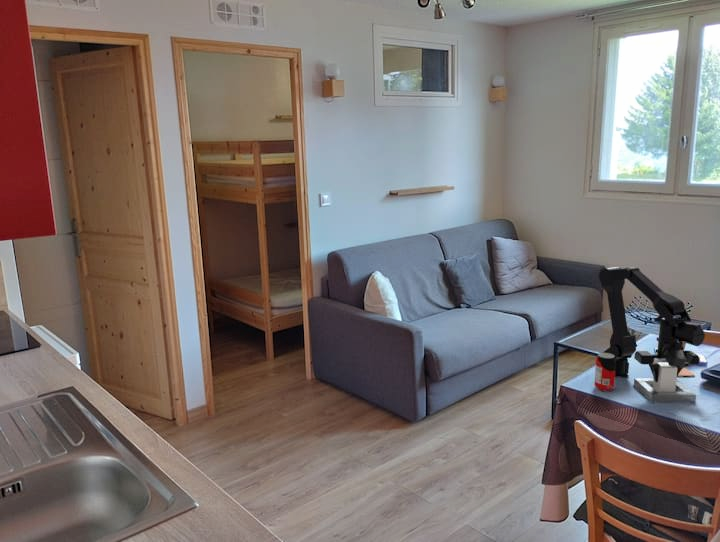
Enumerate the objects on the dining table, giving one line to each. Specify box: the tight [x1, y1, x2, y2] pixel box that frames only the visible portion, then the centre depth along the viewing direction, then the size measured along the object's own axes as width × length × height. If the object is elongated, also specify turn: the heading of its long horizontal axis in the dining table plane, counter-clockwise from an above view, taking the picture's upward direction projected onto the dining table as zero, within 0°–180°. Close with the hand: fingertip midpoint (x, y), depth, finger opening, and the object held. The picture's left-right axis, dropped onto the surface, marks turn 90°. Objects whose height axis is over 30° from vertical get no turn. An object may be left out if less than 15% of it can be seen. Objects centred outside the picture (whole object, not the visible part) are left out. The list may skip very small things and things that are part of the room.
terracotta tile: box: [677, 367, 696, 378], centre depth 208 cm, size 9×9×1 cm
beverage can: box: [593, 352, 616, 392], centre depth 194 cm, size 6×6×12 cm
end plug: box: [652, 361, 678, 392], centre depth 189 cm, size 5×5×10 cm
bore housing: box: [633, 377, 697, 403], centre depth 190 cm, size 14×14×2 cm
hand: (664, 381), depth 189 cm, fingers closed on end plug, 5 cm apart
